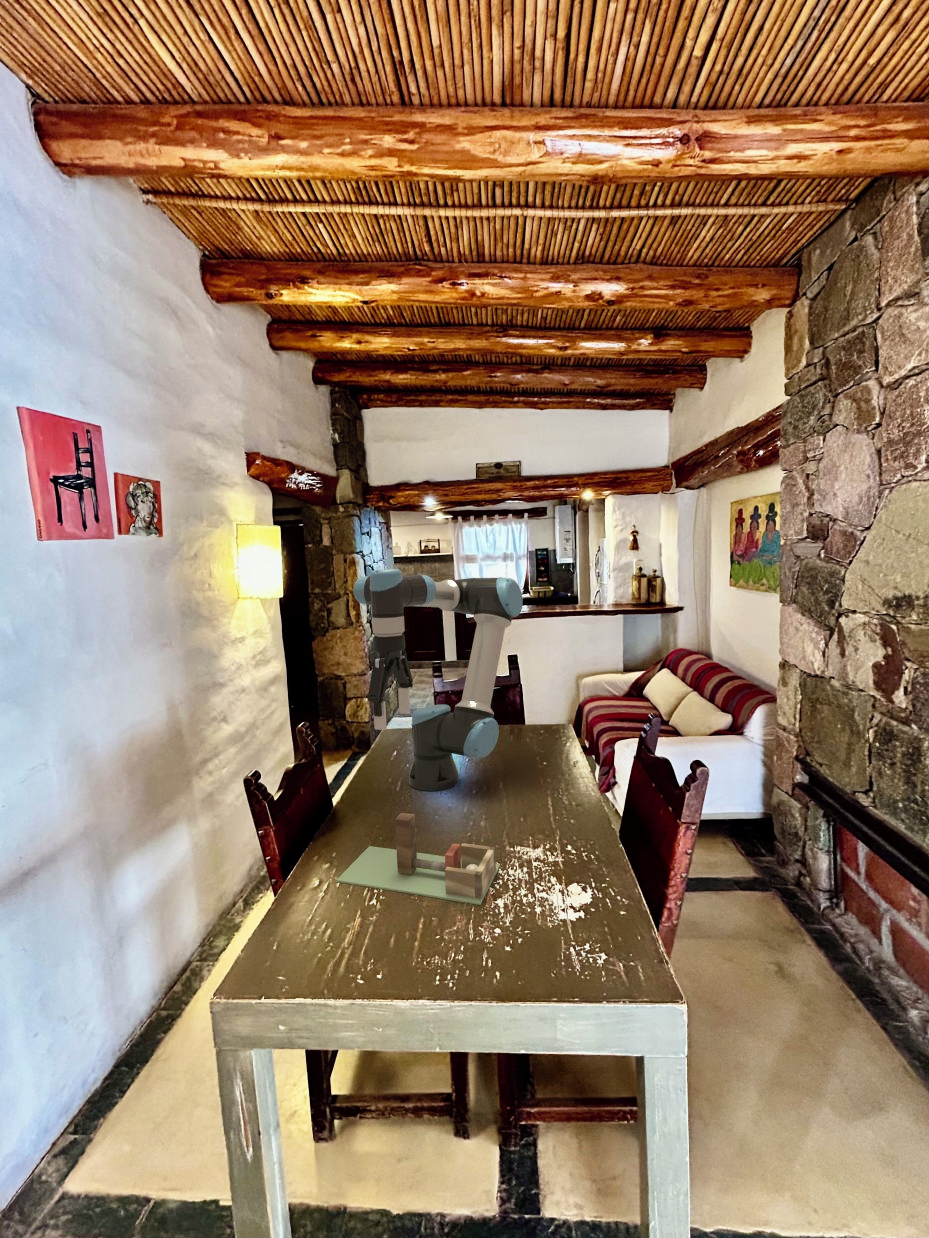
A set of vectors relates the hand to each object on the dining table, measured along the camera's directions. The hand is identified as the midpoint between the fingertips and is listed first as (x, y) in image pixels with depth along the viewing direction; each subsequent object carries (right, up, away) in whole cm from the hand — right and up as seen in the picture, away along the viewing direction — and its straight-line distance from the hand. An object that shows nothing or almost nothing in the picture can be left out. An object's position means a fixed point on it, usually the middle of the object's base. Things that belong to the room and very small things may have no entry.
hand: (393, 721), depth 142 cm
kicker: (+10, -30, -17) cm, 35 cm away
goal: (+19, -30, -20) cm, 41 cm away
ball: (+19, -28, -20) cm, 39 cm away
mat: (+8, -30, -15) cm, 35 cm away
